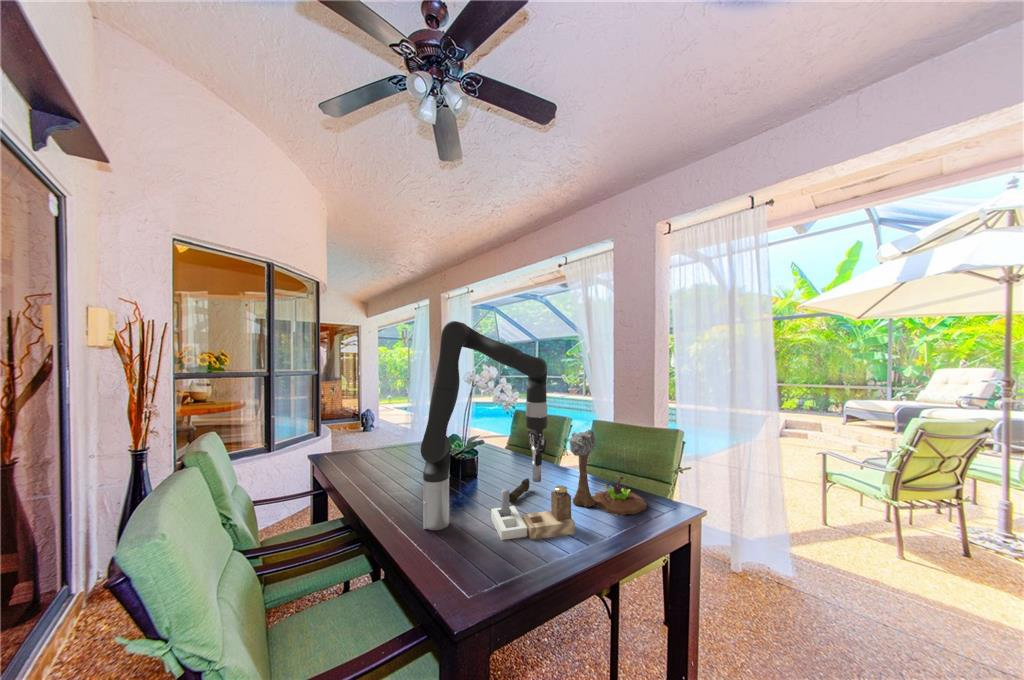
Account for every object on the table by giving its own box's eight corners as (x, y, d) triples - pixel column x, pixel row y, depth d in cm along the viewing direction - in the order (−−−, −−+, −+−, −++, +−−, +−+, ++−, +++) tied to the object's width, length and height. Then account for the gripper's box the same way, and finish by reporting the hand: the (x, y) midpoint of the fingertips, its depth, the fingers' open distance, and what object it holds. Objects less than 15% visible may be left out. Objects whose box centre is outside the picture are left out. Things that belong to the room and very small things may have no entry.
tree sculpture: (594, 513, 142) (593, 437, 142) (568, 510, 145) (567, 435, 146) (597, 498, 156) (597, 428, 156) (574, 495, 160) (573, 426, 160)
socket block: (530, 543, 122) (530, 504, 122) (522, 528, 132) (522, 492, 132) (574, 536, 126) (574, 498, 126) (563, 522, 136) (563, 487, 136)
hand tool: (515, 504, 150) (515, 492, 150) (506, 502, 152) (506, 491, 152) (534, 488, 167) (534, 478, 167) (526, 486, 169) (526, 476, 169)
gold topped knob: (557, 511, 127) (557, 491, 127) (553, 505, 132) (552, 486, 132) (569, 509, 129) (569, 489, 129) (564, 504, 133) (564, 485, 133)
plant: (655, 509, 146) (655, 481, 146) (618, 520, 138) (618, 491, 138) (620, 491, 164) (620, 466, 164) (585, 500, 155) (585, 473, 155)
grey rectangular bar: (534, 482, 126) (534, 447, 126) (531, 479, 129) (531, 445, 129) (542, 481, 127) (542, 447, 127) (539, 478, 130) (539, 444, 130)
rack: (501, 543, 122) (501, 507, 122) (491, 519, 138) (491, 487, 138) (527, 539, 124) (526, 504, 124) (514, 516, 141) (514, 485, 141)
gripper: (520, 411, 134) (520, 458, 134) (532, 419, 120) (532, 471, 120) (540, 410, 136) (540, 456, 136) (553, 417, 122) (554, 469, 122)
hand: (536, 463), depth 128 cm, fingers closed on grey rectangular bar, 3 cm apart
